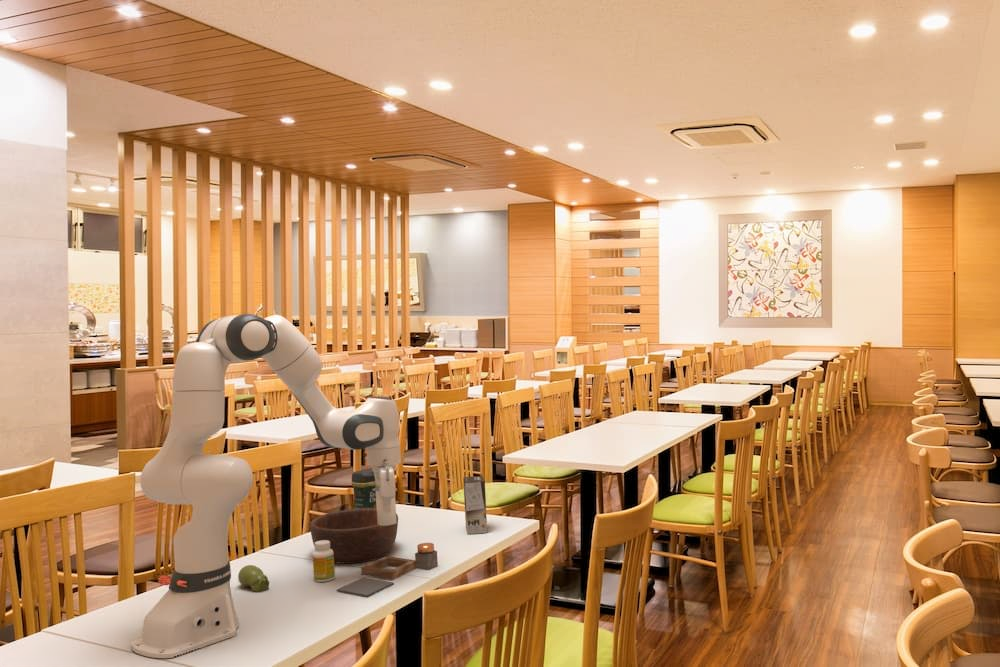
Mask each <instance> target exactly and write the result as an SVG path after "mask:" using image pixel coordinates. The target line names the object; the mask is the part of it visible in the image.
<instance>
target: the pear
mask: <svg viewBox="0 0 1000 667" xmlns="http://www.w3.org/2000/svg"><path fill="white" fill-rule="evenodd" d="M237 575H238V578H237V579H238V582H239V584H241V586H243V587H246V588H248V587H250V588H251V590H252V591H253V592H255V593H260V592H263V591H266V590H268V589H269V586H270V581H269V580H268V576H267V575H266V574H264V571H263V570H262V569H261V568H260V567H259V566H257V565H254V564H253V565H251V564H248V565H245V566H244V567H242V568H241V569H240V570H239V572H238V574H237Z"/></svg>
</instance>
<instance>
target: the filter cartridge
mask: <svg viewBox="0 0 1000 667" xmlns="http://www.w3.org/2000/svg"><path fill="white" fill-rule="evenodd" d="M375 487H376V506H377V524H378V525H381V526H387V525H393V524H396V523H397V522H396V514H397V508H396V505H397V503H396V497H395V498H393V499H391V512H389V513H385V512H384V508H383V499H382V498H381V496H380V493H379V487H378V485H376V486H375Z"/></svg>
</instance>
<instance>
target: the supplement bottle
mask: <svg viewBox="0 0 1000 667" xmlns="http://www.w3.org/2000/svg"><path fill="white" fill-rule="evenodd" d="M314 549H315V550H313V552H312V568H313V569H312V570H313V571H312V572H313V580H314V582H317V583H325V582H330V581H333V580H334V579H335V577H336V572H335V570H336V569H335V563H334V553H333V550H332V549H330V541H328V540H321V541H317V542H315V547H314Z"/></svg>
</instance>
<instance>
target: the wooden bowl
mask: <svg viewBox="0 0 1000 667" xmlns="http://www.w3.org/2000/svg"><path fill="white" fill-rule="evenodd" d="M396 522H397V523H396V524H393V525H387V526H381V525H378V524H377V508H359V509H354V508H352V509H351V508H350V509H343V510H337V511H331V512H328V513H325V514H322V515H319V516H317V517H314V518H313V519H312V520H310V523H309V530H310V534H311V540H312V544H313V546H314V548H315V542H317V541H321V540H328V541H330V549H332V550H333V553H334V564H357V563H358V564H359V563H363V562H369V561H373V560H376V559H377V560H378V559H381V558H383V557H386V556H387V555H388V554H389V553H390V552H391V551H392V549H393V547H394V545H395V542H396V539H397V534H398V527H399V526H398V525H399V524H398V523H399V515H398V513H396Z"/></svg>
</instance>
